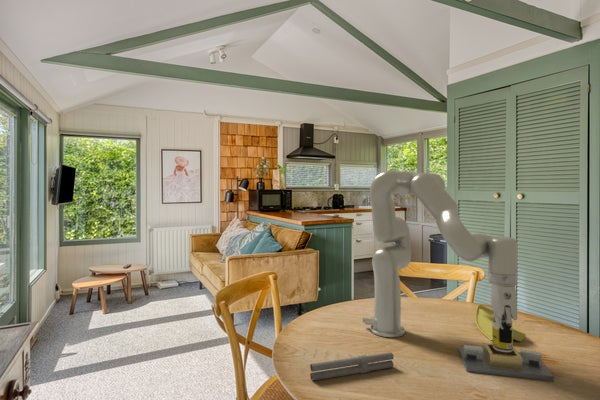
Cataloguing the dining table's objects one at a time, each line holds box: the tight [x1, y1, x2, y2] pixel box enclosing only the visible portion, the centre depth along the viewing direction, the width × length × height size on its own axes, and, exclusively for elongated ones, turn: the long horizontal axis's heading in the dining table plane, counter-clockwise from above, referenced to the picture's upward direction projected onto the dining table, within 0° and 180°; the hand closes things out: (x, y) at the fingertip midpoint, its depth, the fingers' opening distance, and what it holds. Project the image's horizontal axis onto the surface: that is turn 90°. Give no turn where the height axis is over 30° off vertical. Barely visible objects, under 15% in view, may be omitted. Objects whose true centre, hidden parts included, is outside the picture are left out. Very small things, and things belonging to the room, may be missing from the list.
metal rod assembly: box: [309, 352, 395, 382], centre depth 103 cm, size 26×3×5 cm, turn 106°
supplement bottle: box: [492, 315, 514, 352], centre depth 108 cm, size 5×5×10 cm
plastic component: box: [474, 304, 527, 342], centre depth 133 cm, size 20×7×10 cm
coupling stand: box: [458, 342, 555, 382], centre depth 108 cm, size 22×14×4 cm, turn 75°
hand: (502, 337), depth 108 cm, fingers closed on supplement bottle, 5 cm apart
